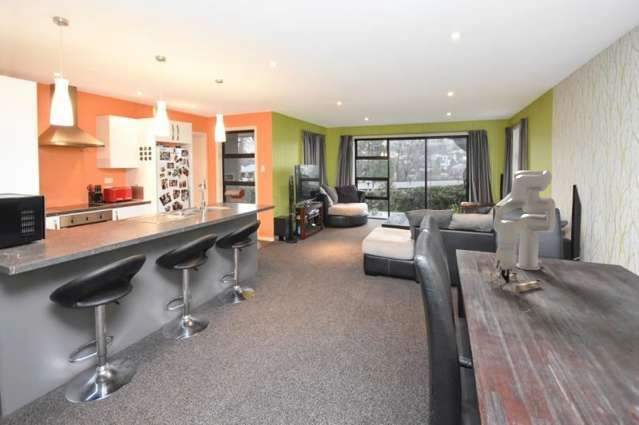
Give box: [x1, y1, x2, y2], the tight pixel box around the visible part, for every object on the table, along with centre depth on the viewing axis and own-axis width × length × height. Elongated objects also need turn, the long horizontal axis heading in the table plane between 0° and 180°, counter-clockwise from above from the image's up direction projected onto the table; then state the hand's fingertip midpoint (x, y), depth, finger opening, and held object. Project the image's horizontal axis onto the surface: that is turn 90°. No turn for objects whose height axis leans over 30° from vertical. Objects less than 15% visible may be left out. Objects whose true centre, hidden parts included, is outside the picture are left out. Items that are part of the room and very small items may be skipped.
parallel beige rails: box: [509, 271, 542, 293], centre depth 171 cm, size 16×14×4 cm
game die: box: [485, 273, 508, 292], centre depth 165 cm, size 9×8×10 cm
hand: (504, 282), depth 167 cm, fingers closed
